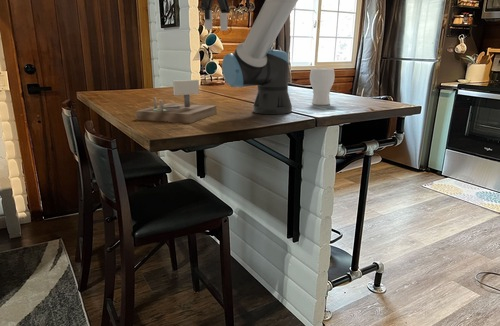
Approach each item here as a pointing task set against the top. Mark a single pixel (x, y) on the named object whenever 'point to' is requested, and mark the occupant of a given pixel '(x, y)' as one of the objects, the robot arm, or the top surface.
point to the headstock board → (176, 112)
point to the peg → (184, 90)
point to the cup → (321, 84)
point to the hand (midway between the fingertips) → (216, 30)
